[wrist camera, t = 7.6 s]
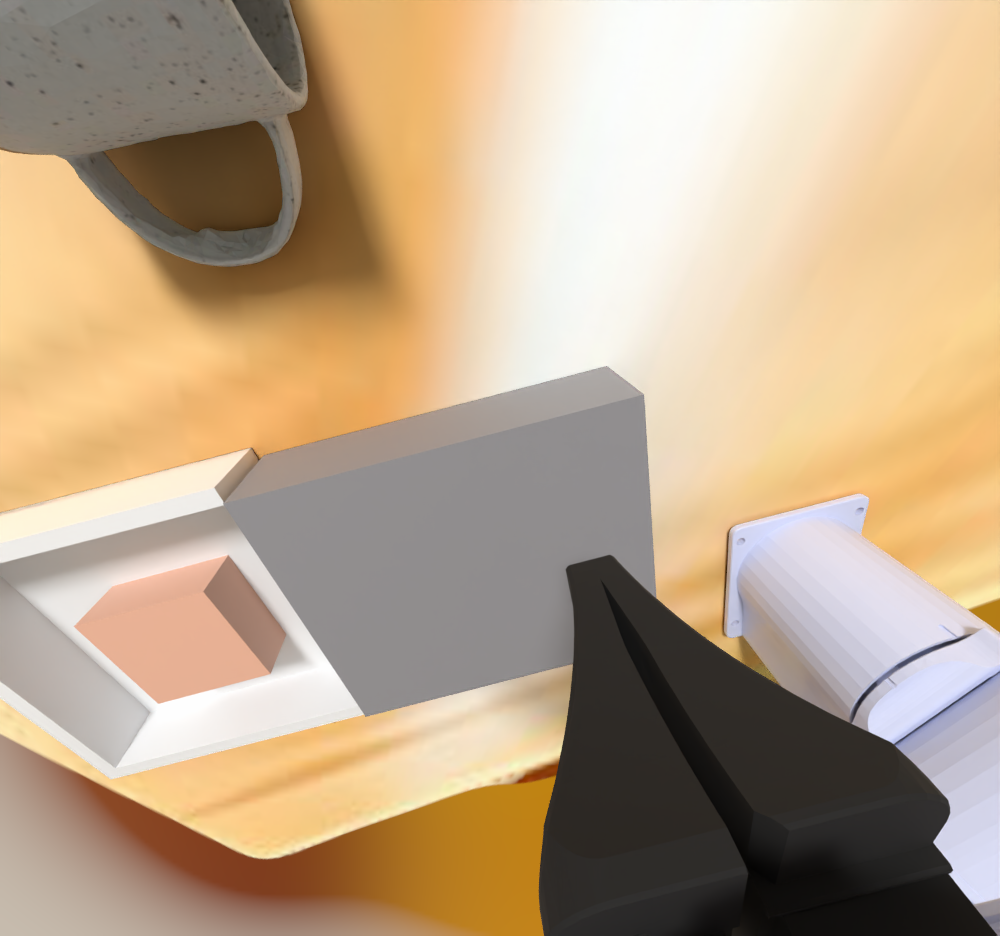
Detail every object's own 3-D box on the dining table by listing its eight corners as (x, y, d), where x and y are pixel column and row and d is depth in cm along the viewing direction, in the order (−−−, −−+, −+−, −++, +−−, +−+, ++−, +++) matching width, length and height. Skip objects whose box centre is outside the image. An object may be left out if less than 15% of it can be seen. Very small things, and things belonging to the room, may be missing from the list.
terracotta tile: (158, 703, 22) (184, 661, 24) (270, 674, 22) (286, 634, 24) (73, 626, 19) (112, 586, 21) (202, 591, 19) (228, 555, 21)
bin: (374, 658, 26) (365, 714, 23) (149, 716, 26) (111, 779, 23) (251, 447, 19) (214, 487, 16) (-60, 528, 19) (-157, 583, 16)
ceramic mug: (-108, -157, 10) (-1072, -838, 4) (207, -252, 10) (-218, -1125, 4) (162, 289, 16) (-42, 332, 9) (372, 230, 16) (321, 230, 9)
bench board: (629, 587, 26) (658, 641, 22) (376, 652, 26) (365, 716, 22) (606, 366, 19) (644, 394, 15) (263, 455, 19) (222, 503, 16)
